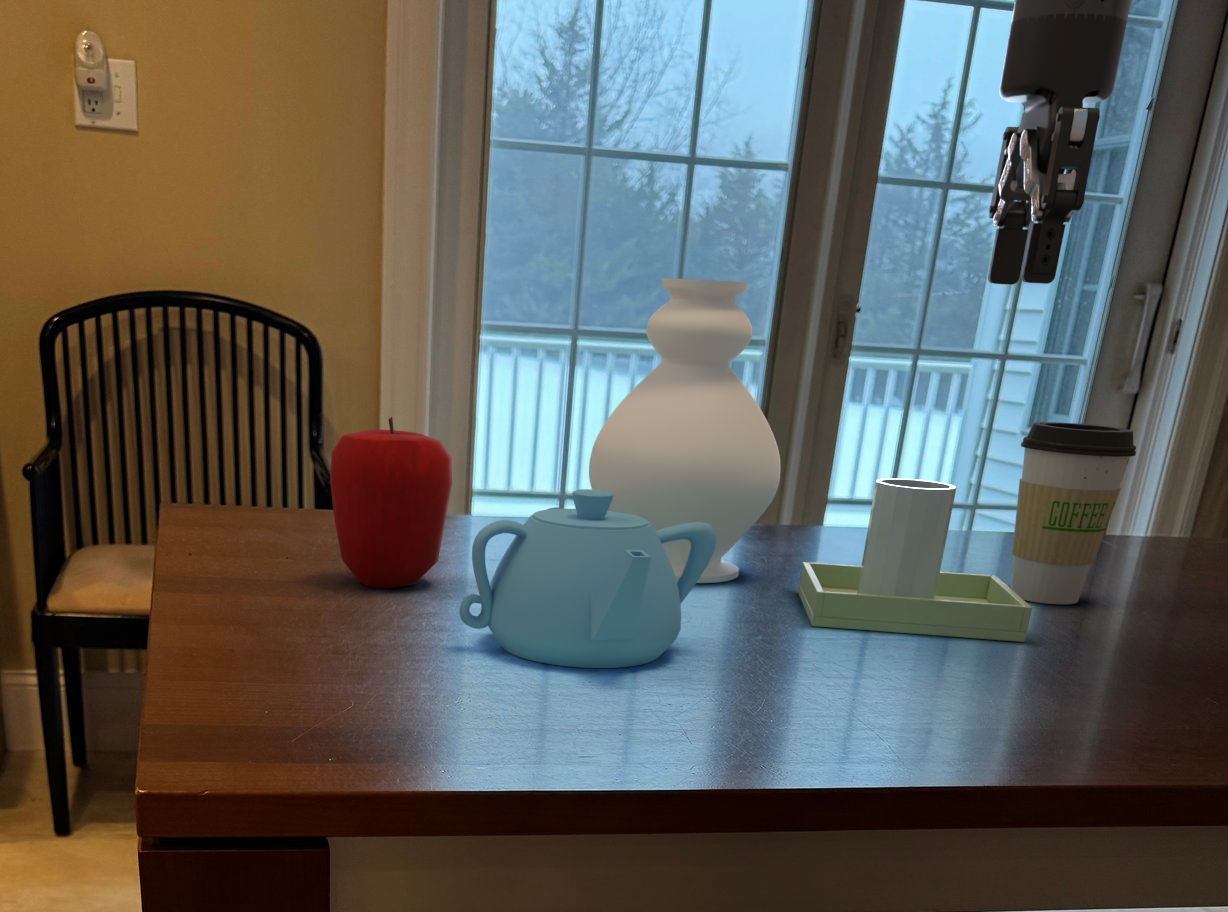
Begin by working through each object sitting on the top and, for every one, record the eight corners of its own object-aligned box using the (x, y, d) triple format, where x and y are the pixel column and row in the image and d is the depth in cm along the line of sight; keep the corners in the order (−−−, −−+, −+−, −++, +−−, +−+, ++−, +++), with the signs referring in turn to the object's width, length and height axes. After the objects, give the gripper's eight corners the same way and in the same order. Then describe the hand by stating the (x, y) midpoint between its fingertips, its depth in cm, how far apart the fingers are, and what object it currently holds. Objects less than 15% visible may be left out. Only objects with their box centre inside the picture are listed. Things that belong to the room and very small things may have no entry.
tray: (989, 607, 127) (996, 575, 125) (1024, 642, 114) (1032, 607, 113) (797, 593, 128) (802, 561, 127) (811, 626, 116) (817, 591, 114)
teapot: (718, 641, 109) (737, 489, 103) (633, 688, 95) (650, 516, 90) (541, 613, 115) (550, 468, 110) (437, 653, 101) (442, 490, 96)
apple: (459, 595, 120) (467, 424, 114) (341, 595, 117) (342, 421, 111) (433, 571, 129) (438, 412, 123) (322, 570, 126) (322, 408, 120)
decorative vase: (796, 589, 130) (841, 287, 118) (614, 588, 125) (643, 276, 114) (723, 554, 145) (757, 284, 133) (559, 553, 141) (579, 274, 129)
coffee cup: (1088, 613, 126) (1131, 435, 119) (978, 597, 131) (1014, 424, 124) (1107, 597, 134) (1149, 429, 127) (1003, 582, 138) (1038, 419, 131)
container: (925, 601, 123) (948, 481, 119) (937, 616, 118) (962, 491, 113) (852, 595, 124) (872, 476, 119) (860, 610, 118) (882, 486, 114)
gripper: (1164, 0, 89) (1103, 286, 97) (1089, 36, 102) (1040, 286, 109) (1046, -4, 89) (994, 281, 97) (985, 33, 102) (943, 282, 109)
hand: (1018, 283), depth 103 cm, fingers open, 8 cm apart
